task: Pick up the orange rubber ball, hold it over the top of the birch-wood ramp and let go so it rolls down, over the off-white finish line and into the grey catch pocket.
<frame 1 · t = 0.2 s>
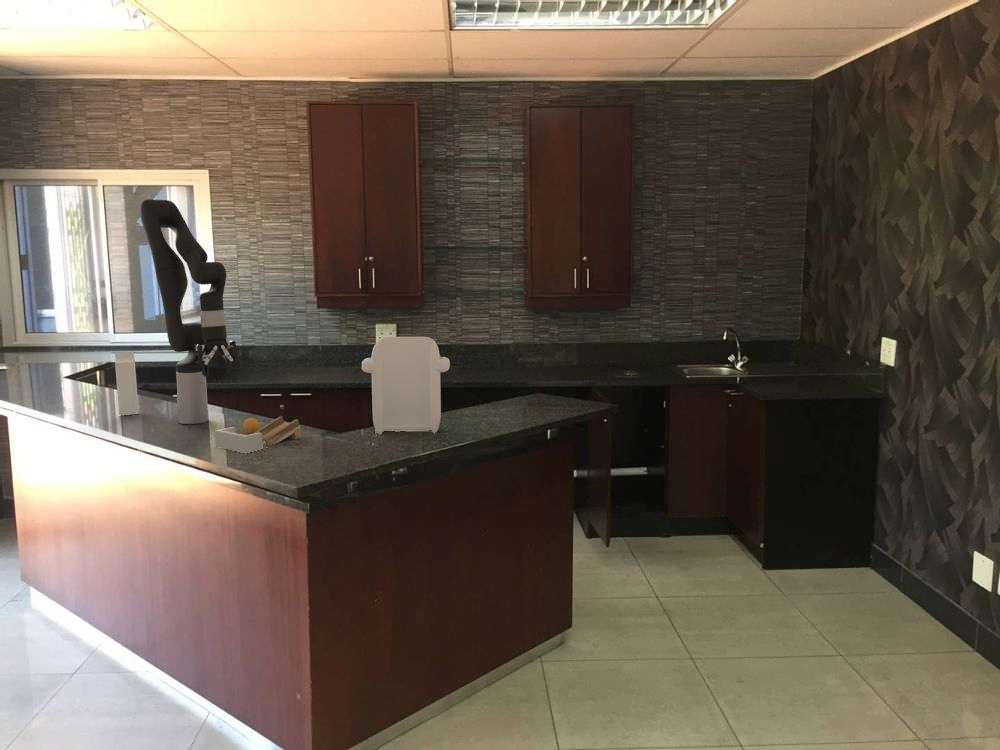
hand: (217, 374, 268), 17 cm above the worktop, tool pointing down, fingers open, 8 cm apart
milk: (129, 414, 292), on the worktop
ramp: (275, 439, 252), on the worktop
toaster: (407, 431, 265), on the worktop
finish line: (251, 445, 245), on the worktop
ball: (251, 425, 261), point 2 cm above the worktop
backstop: (232, 450, 240), on the worktop
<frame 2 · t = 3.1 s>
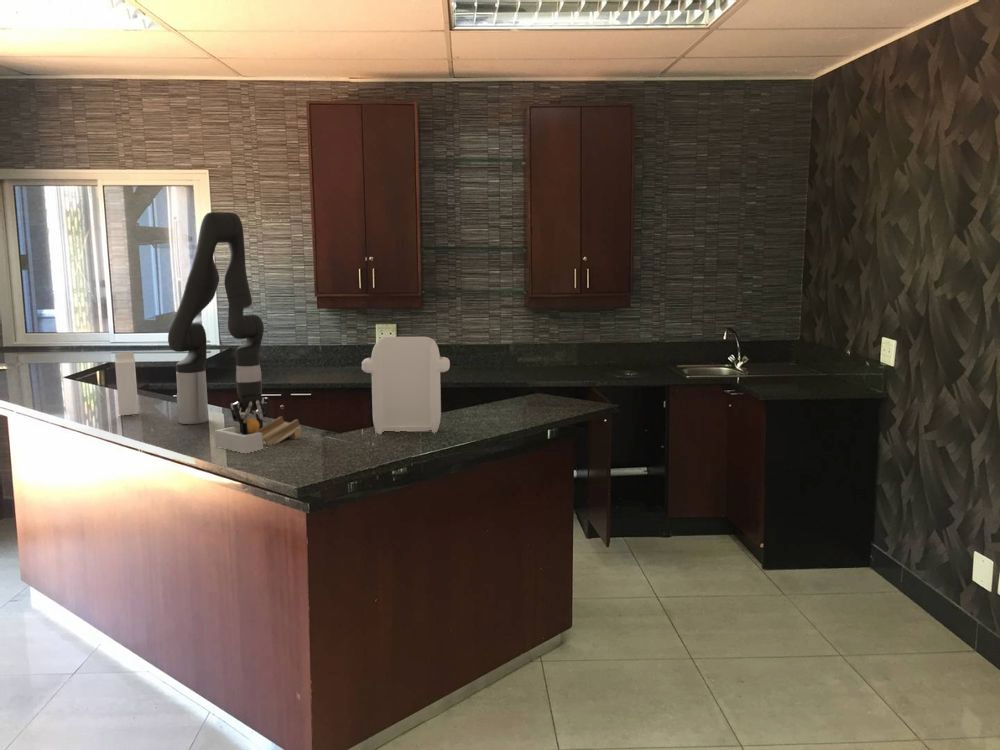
hand: (251, 432, 261), 0 cm above the worktop, tool pointing down, fingers closed on ball, 5 cm apart
ball: (251, 426, 261), point 2 cm above the worktop, touching gripper
everything else where it was.
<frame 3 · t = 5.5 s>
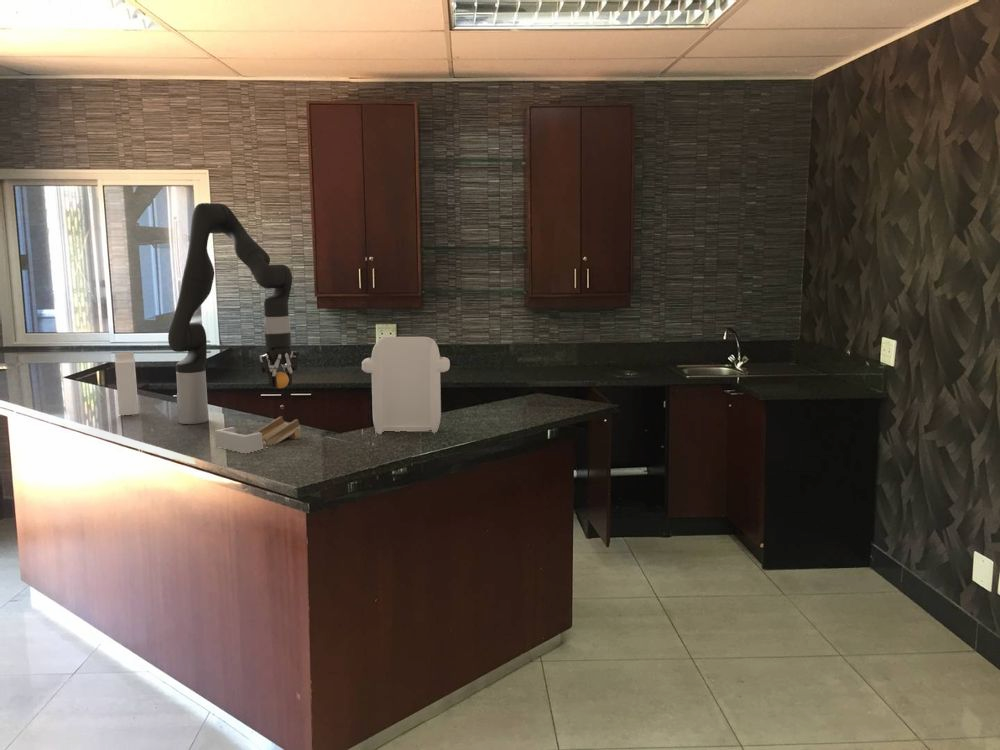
hand: (280, 386, 252), 16 cm above the worktop, tool pointing down, fingers closed on ball, 5 cm apart
ball: (280, 380, 252), point 18 cm above the worktop, touching gripper
everything else where it was.
when the fingers open (5 cm above the worktop, at t = 8.0 s): ball drops 2 cm, resting on ramp.
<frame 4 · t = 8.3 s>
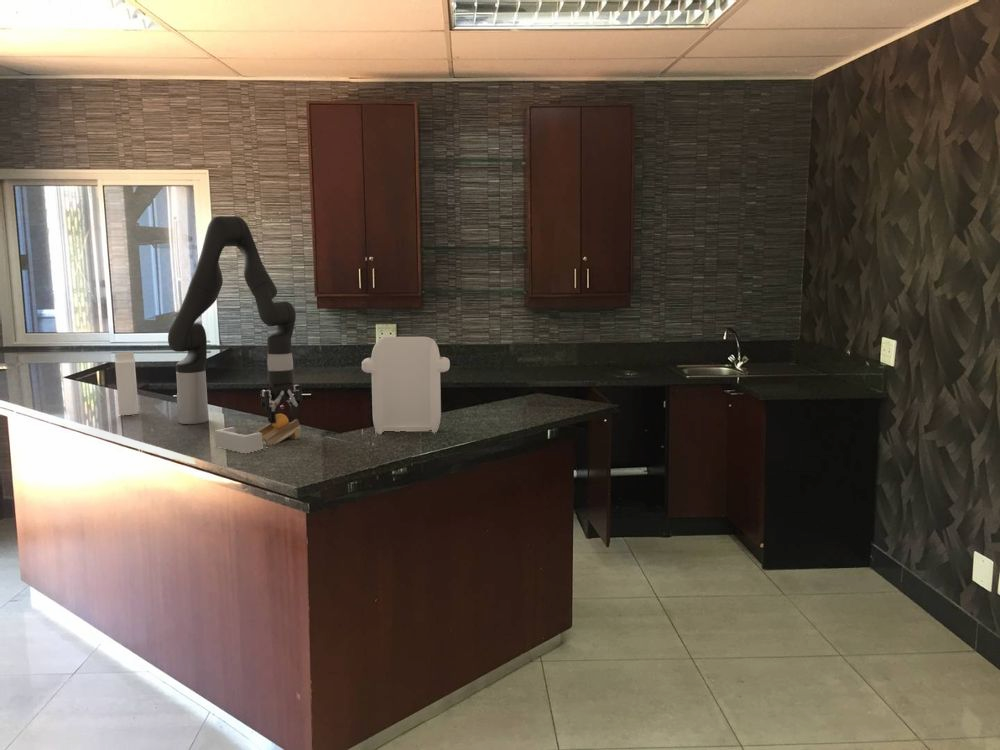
hand: (282, 420, 254), 5 cm above the worktop, tool pointing down, fingers open, 7 cm apart
ball: (280, 421, 253), point 5 cm above the worktop, tilted 24°, touching ramp
everything else where it was.
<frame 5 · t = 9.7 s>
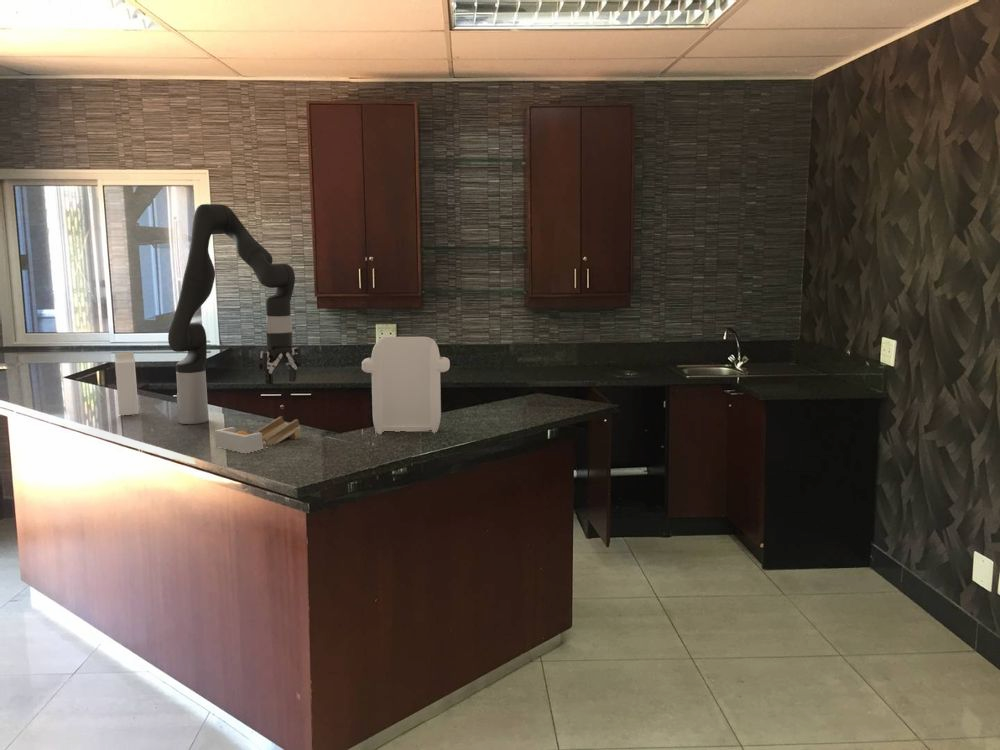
hand: (281, 383, 252), 17 cm above the worktop, tool pointing down, fingers open, 8 cm apart
ball: (241, 439, 243), point 2 cm above the worktop, tilted 16°
everything else where it was.
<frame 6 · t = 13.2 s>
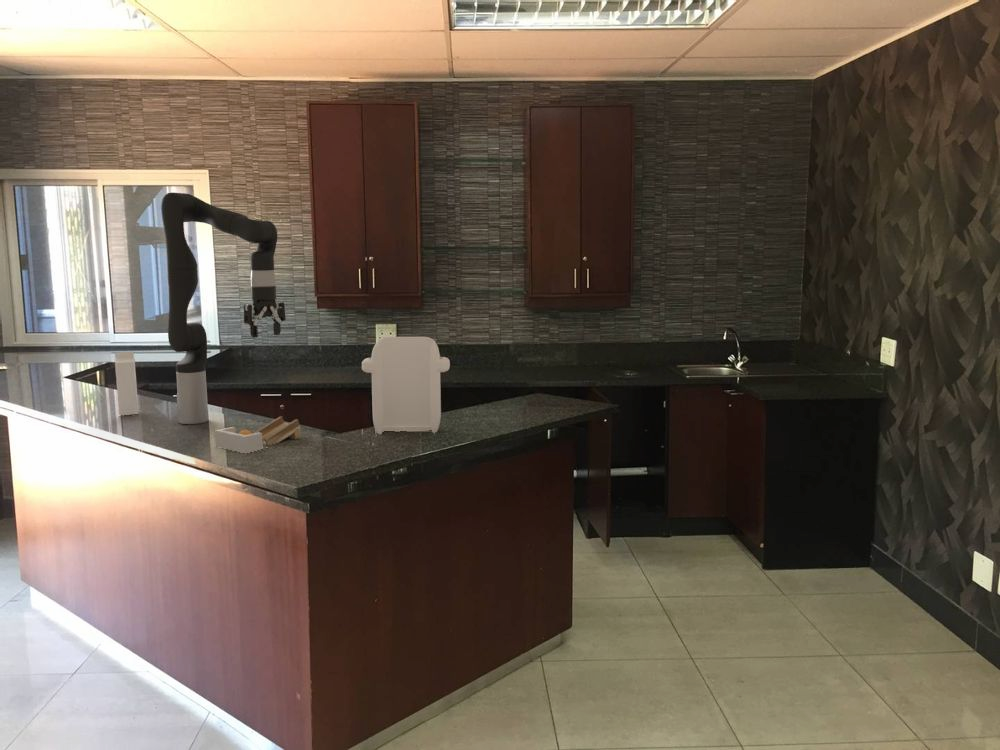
hand: (265, 336, 263), 30 cm above the worktop, tool pointing down, fingers open, 8 cm apart
ball: (245, 438, 244), point 2 cm above the worktop, tilted 14°
everything else where it was.
at the end: ball inside the target area (1.4 cm from its centre), point 2.5 cm above the worktop; the gripper is holding nothing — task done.
